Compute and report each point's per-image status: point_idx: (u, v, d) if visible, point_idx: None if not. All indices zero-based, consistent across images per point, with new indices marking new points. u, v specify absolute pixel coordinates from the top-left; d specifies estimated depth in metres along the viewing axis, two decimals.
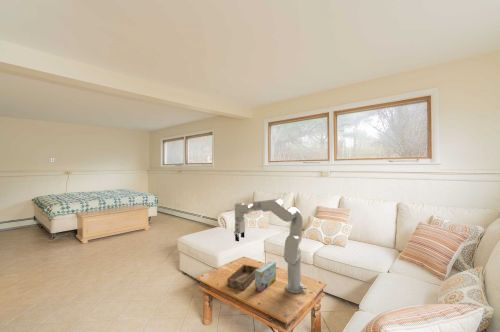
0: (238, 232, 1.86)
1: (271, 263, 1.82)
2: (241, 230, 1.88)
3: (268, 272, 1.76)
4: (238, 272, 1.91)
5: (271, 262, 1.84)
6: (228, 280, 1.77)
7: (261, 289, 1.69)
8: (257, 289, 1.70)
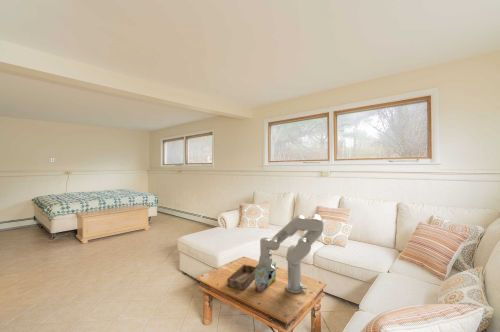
0: (271, 268, 1.77)
1: None
2: None
3: (268, 272, 1.76)
4: (238, 272, 1.91)
5: None
6: (228, 280, 1.77)
7: (261, 289, 1.69)
8: (257, 289, 1.70)
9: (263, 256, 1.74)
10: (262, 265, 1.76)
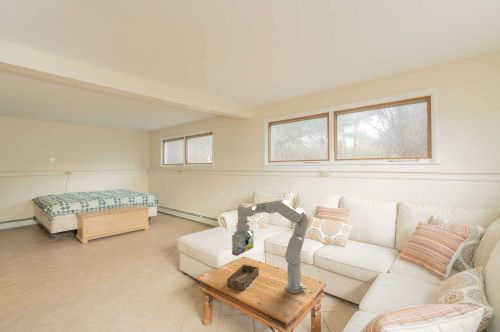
0: None
1: None
2: None
3: (245, 238, 1.84)
4: (238, 272, 1.91)
5: None
6: (228, 280, 1.77)
7: (237, 253, 1.77)
8: (234, 253, 1.78)
9: (240, 222, 1.82)
10: (239, 231, 1.84)
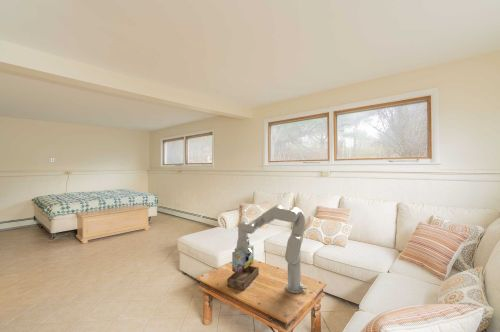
0: (248, 251, 1.85)
1: None
2: None
3: (245, 254, 1.84)
4: (238, 272, 1.91)
5: None
6: (228, 280, 1.77)
7: (238, 270, 1.77)
8: (234, 270, 1.78)
9: (240, 239, 1.82)
10: (240, 248, 1.84)
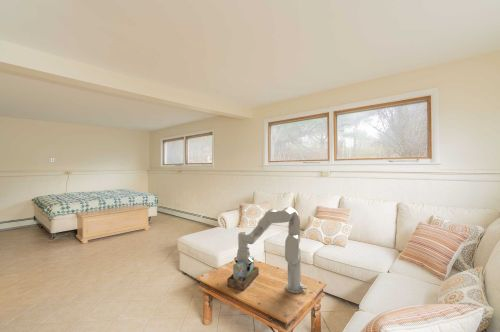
0: (249, 261, 1.85)
1: None
2: None
3: (246, 266, 1.84)
4: None
5: None
6: (228, 280, 1.77)
7: None
8: None
9: (240, 249, 1.82)
10: (240, 258, 1.84)
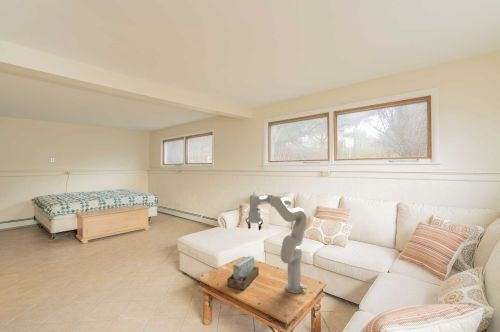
0: (260, 221, 2.00)
1: (249, 258, 1.90)
2: None
3: (246, 266, 1.84)
4: None
5: (249, 257, 1.92)
6: (228, 280, 1.77)
7: None
8: None
9: (252, 210, 1.97)
10: (251, 218, 1.99)
